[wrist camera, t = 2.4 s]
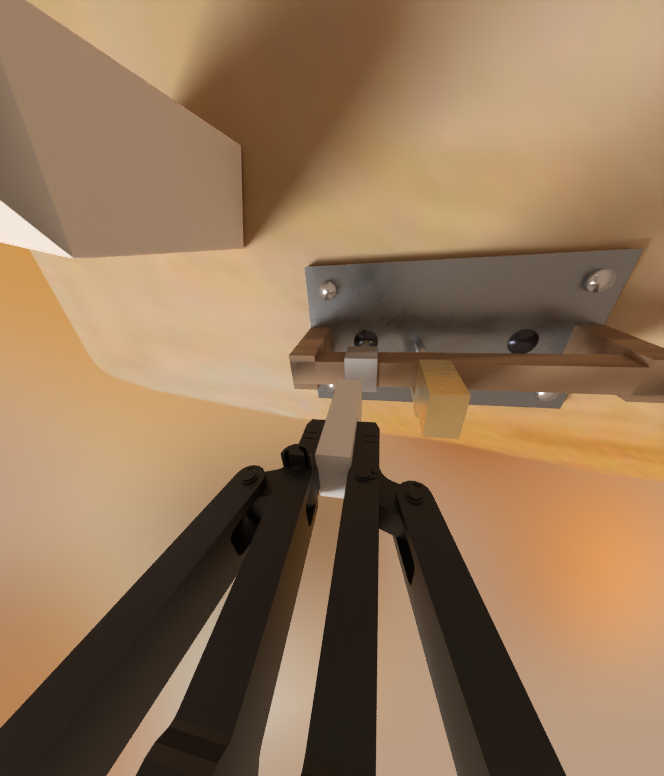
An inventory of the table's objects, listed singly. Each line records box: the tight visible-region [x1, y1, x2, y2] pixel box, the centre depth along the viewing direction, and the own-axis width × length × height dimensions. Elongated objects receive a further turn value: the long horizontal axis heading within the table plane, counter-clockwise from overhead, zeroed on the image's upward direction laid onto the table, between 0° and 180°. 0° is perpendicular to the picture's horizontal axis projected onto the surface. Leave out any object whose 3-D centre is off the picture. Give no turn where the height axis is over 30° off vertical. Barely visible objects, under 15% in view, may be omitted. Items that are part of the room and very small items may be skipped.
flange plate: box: [305, 248, 644, 409], centre depth 23 cm, size 14×25×2 cm, turn 94°
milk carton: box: [0, 0, 244, 258], centre depth 13 cm, size 7×7×19 cm
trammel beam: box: [289, 325, 664, 403], centre depth 20 cm, size 3×25×7 cm, turn 94°
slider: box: [410, 340, 471, 439], centre depth 18 cm, size 4×2×11 cm, turn 4°
